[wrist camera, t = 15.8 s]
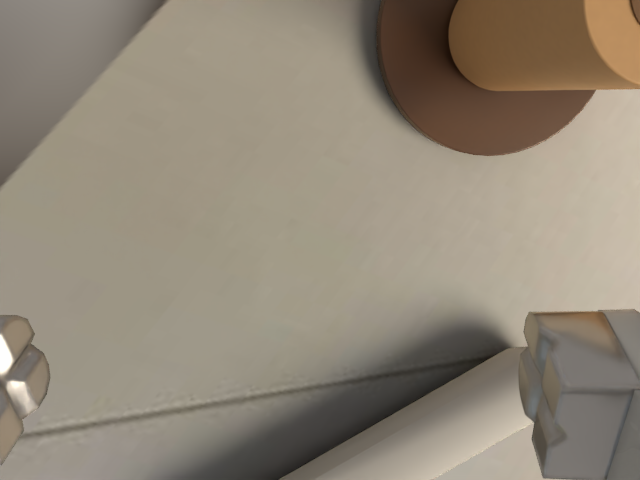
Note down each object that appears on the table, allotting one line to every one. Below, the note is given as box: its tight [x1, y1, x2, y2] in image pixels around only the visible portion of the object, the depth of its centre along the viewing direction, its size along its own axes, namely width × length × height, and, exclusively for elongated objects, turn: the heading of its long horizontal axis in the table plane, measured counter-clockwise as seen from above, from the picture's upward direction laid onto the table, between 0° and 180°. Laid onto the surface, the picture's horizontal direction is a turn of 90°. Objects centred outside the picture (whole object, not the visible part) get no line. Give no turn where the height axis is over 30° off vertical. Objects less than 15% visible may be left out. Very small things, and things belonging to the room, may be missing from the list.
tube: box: [279, 347, 534, 480], centre depth 37 cm, size 5×5×25 cm
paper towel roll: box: [448, 0, 640, 91], centre depth 25 cm, size 6×7×14 cm
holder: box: [376, 0, 596, 156], centre depth 33 cm, size 14×14×2 cm
